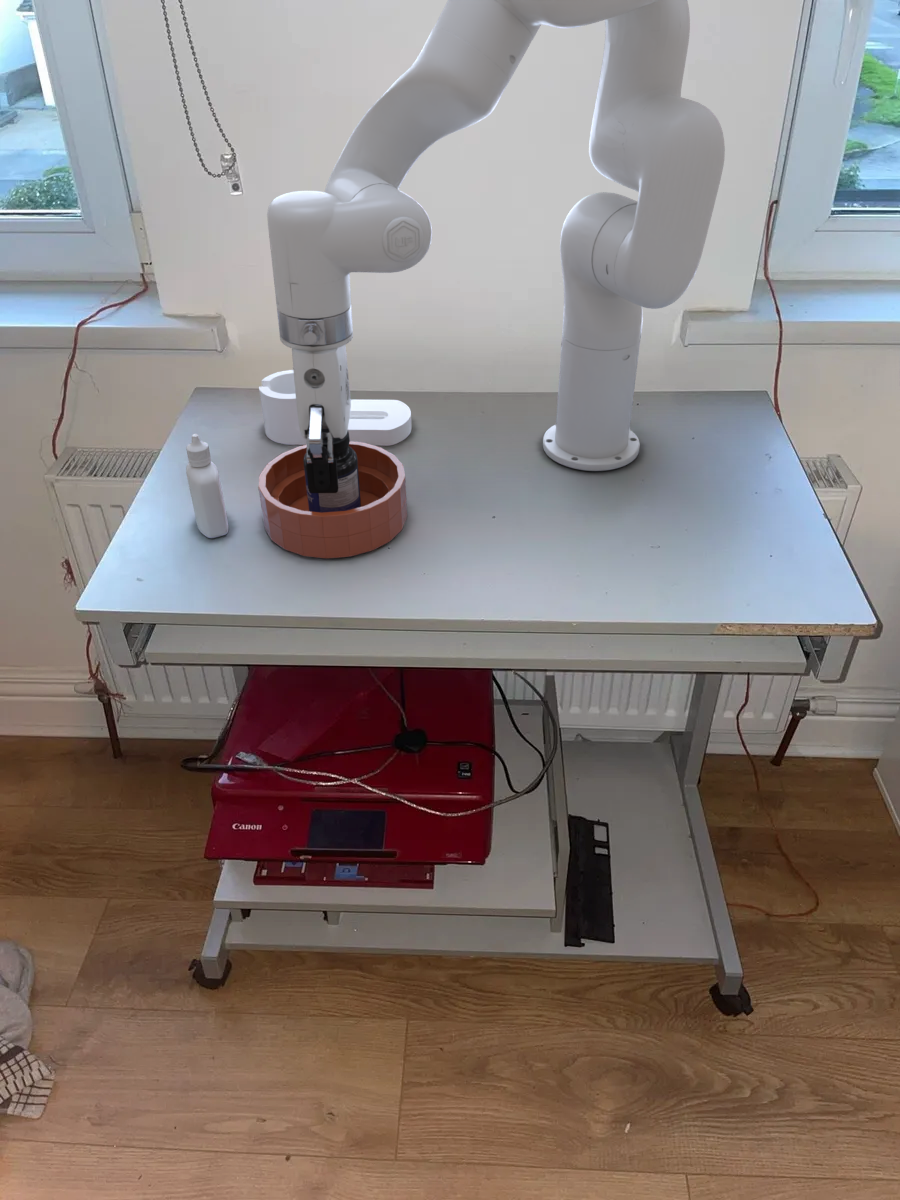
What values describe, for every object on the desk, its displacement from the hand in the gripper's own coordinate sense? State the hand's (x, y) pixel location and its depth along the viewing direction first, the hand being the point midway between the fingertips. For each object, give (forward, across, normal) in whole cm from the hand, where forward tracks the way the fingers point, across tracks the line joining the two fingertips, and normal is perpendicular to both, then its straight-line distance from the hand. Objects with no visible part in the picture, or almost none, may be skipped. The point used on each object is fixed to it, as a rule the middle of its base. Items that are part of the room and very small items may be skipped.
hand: (327, 469), depth 107 cm
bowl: (+7, 0, 0) cm, 7 cm away
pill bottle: (+7, 0, 0) cm, 7 cm away
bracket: (+7, +23, +1) cm, 24 cm away
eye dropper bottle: (+7, -1, +14) cm, 16 cm away
